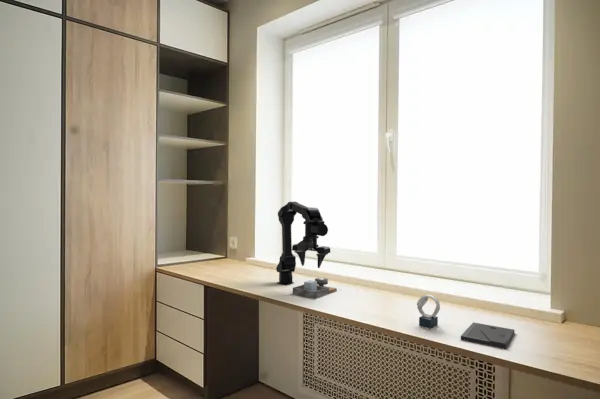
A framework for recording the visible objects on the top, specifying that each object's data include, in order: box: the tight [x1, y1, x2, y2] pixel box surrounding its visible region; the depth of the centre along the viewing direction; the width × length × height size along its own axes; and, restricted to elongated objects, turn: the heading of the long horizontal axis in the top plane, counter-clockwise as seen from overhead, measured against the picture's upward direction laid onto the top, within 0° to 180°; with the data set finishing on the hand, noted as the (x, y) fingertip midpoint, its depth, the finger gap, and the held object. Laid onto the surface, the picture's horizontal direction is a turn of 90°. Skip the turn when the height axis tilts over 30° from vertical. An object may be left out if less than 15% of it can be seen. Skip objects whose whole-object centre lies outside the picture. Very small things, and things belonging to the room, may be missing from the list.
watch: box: [416, 294, 441, 329], centre depth 146 cm, size 6×8×11 cm
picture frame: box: [460, 321, 515, 350], centre depth 135 cm, size 13×2×18 cm
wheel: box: [314, 277, 329, 286], centre depth 198 cm, size 6×6×2 cm
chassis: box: [292, 284, 338, 299], centre depth 194 cm, size 14×18×3 cm
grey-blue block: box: [303, 280, 317, 291], centre depth 191 cm, size 4×5×6 cm
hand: (310, 266), depth 192 cm, fingers open, 9 cm apart
